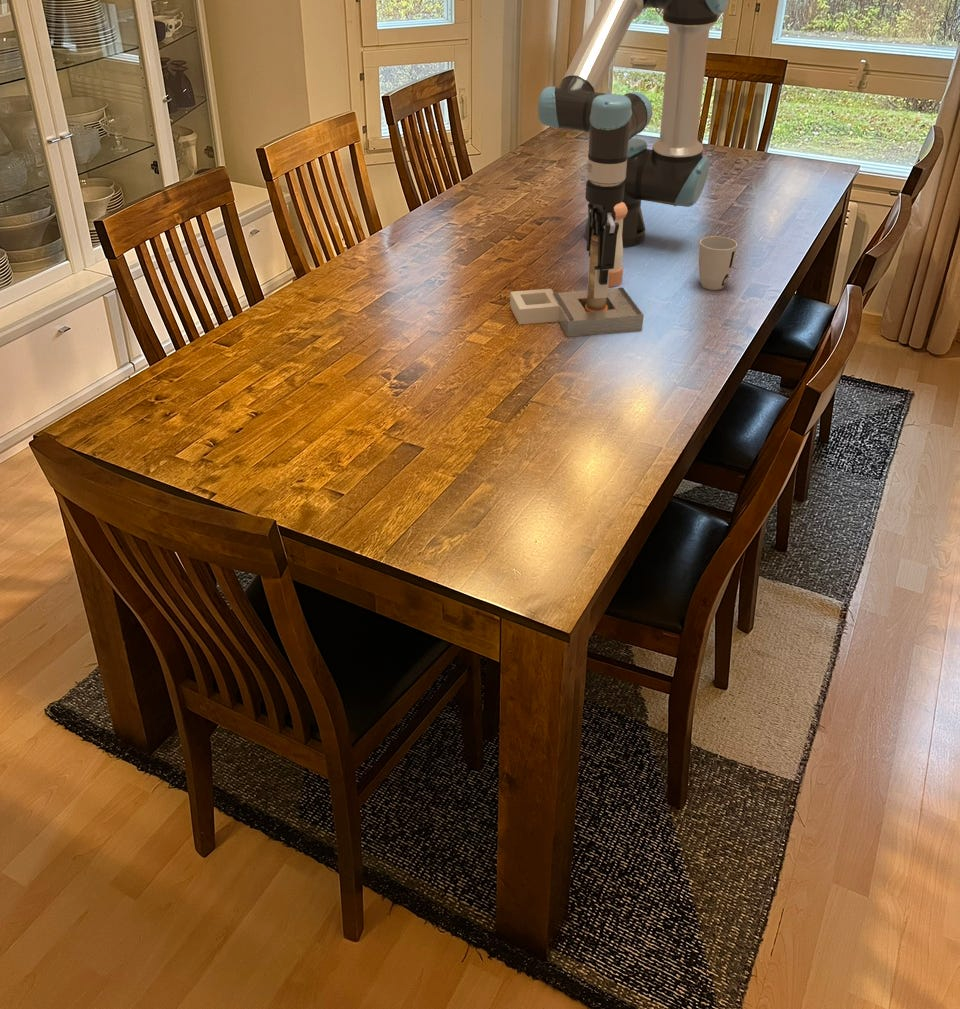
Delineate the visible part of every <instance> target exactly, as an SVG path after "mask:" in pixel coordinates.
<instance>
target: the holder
mask: <svg viewBox="0 0 960 1009" xmlns="http://www.w3.org/2000/svg"><path fill="white" fill-rule="evenodd" d="M552 293H553V294H552ZM554 293H555V292H554V291H553V289H552V288H541V289H530V290H516V291H510V294H509V295H510V298H509V300H510V302H509V303H510V304H509V305H510V306H509V307H510V309H511V311H512V313H513V315H514V318H515V319H516V321H517V323H518V325H520V326H521V324H522V325H530V324H531V325H532V324H543V323H544V324H545V323H555V322H556V323H557V322H559V305H560V303H559V305H558V301H557V298H556V297H553V296H555V295H554Z"/></svg>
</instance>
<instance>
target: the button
mask: <svg viewBox="0 0 960 1009" xmlns="http://www.w3.org/2000/svg"><path fill="white" fill-rule="evenodd" d="M603 310H608V305H607V304H606V308H605V309H603ZM585 311H586V312H589V311H596V310H590V309H588V308H587V304H586V305H585ZM598 311H601V310H598Z"/></svg>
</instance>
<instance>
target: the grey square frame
mask: <svg viewBox="0 0 960 1009" xmlns="http://www.w3.org/2000/svg"><path fill="white" fill-rule="evenodd" d="M553 293H554V295H555V296H553V297H556V298H557V301H558V305H559V303H560V305H559V321H558V323H559V325H560V326H561V328H562V330H563V332H564V334H565V335H566V337H567V338H572V337H573V338H574V337H583V336H585V337H586V336H593V335H595V336H596V335H604V334H605V335H606V334H618V333H628V332H639V331H643V326H644V325H643V324H644V316H645V315H644V313H643V312H642V311H641V309H640V308H639V307H638V305H637V304H636V303H635V301H634V300H633V298H632V297H631V296H630V295H629V294H628V292H627V291H626V290H625V288H624V287H616V288H615V287H611V288H608V295H607V298H606V304H607V305H608V310H601V311H589V312H586V311H585V305H586V304H587V294H588V290H578V291H565V292H564V291H563V292H553ZM553 293H552V294H553Z"/></svg>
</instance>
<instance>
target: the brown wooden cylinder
mask: <svg viewBox="0 0 960 1009" xmlns="http://www.w3.org/2000/svg"><path fill="white" fill-rule="evenodd" d="M589 259H590V265H589V264H588V274H589V280H588V279H587V291H588V294H587V308H588V309H590V310H596V311H598V310H603V309H605V308H606V298H596V299H595V298H594V286H595V272H596V270H595V269H594V266H598V235H593V236H592V237H591V251H590V257H589Z"/></svg>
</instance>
